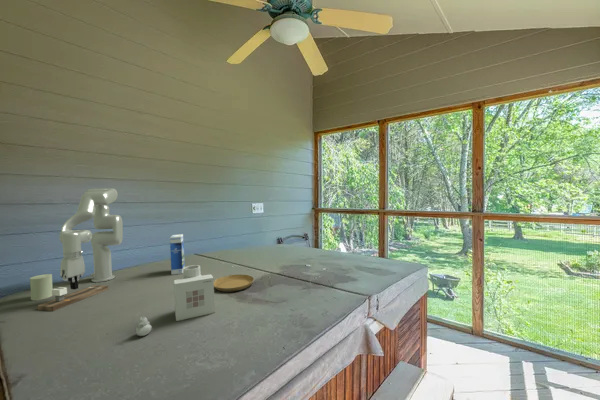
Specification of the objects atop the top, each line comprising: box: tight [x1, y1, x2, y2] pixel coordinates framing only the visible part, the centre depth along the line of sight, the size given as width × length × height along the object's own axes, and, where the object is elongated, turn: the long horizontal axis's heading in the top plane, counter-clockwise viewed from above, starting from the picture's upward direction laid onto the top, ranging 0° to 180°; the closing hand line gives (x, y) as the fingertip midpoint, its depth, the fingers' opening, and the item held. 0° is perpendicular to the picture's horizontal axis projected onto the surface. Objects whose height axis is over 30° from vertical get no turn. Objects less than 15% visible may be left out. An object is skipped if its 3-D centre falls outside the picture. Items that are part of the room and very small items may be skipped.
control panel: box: [173, 264, 216, 322], centre depth 131 cm, size 16×19×20 cm
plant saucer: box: [214, 273, 255, 293], centre depth 164 cm, size 24×24×3 cm
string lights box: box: [169, 233, 186, 275], centre depth 196 cm, size 13×8×26 cm, turn 17°
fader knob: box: [52, 286, 68, 301], centre depth 142 cm, size 5×4×6 cm
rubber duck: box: [135, 315, 153, 337], centre depth 109 cm, size 5×7×8 cm
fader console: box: [36, 284, 109, 312], centre depth 150 cm, size 10×30×2 cm, turn 168°
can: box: [29, 273, 54, 301], centre depth 153 cm, size 9×9×12 cm
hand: (74, 288), depth 149 cm, fingers closed
